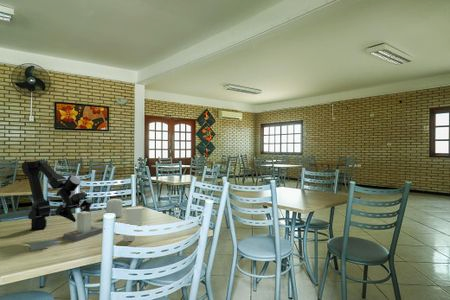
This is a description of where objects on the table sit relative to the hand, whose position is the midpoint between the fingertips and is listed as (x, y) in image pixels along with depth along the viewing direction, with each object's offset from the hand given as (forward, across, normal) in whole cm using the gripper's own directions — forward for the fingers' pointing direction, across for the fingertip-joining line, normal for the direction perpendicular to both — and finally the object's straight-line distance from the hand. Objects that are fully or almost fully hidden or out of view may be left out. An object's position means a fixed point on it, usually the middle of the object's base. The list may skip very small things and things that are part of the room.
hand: (83, 219), depth 142 cm
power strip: (+7, 0, +6) cm, 9 cm away
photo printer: (-5, +39, +18) cm, 43 cm away
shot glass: (+24, +6, -11) cm, 28 cm away
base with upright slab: (+16, +23, -4) cm, 28 cm away
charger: (+6, 0, +5) cm, 8 cm away
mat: (+3, -17, +10) cm, 20 cm away
